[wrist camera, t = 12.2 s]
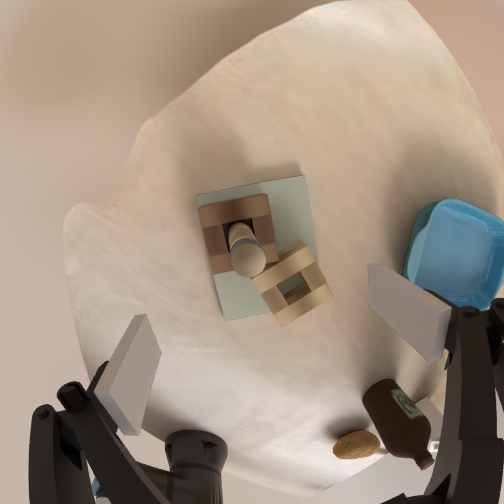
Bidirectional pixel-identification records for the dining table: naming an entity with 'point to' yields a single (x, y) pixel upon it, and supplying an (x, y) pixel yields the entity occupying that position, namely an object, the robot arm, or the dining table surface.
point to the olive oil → (399, 422)
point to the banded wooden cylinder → (245, 250)
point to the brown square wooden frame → (234, 211)
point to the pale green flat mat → (286, 233)
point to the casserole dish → (457, 253)
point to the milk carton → (432, 422)
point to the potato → (356, 445)
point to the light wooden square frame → (300, 296)
